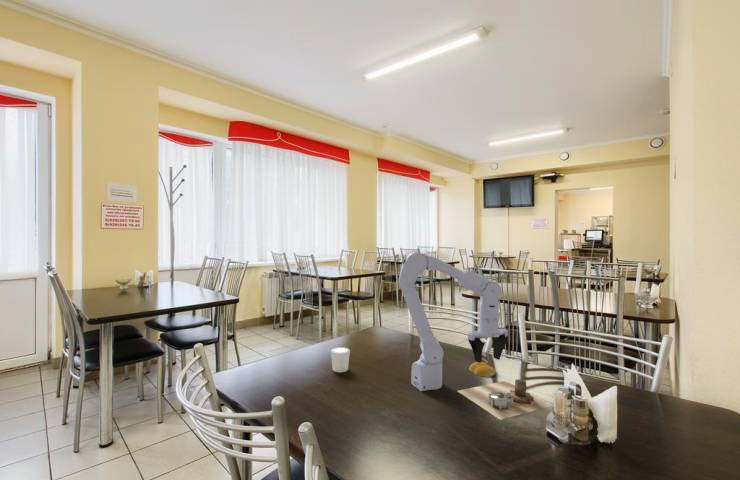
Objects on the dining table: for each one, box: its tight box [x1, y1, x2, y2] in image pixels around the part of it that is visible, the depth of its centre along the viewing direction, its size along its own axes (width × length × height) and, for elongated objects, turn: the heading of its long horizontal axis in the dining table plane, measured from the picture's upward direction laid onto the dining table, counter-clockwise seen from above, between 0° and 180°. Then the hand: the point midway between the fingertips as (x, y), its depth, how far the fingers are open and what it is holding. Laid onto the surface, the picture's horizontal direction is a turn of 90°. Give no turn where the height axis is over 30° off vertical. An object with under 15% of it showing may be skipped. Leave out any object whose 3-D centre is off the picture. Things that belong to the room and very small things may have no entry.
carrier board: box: [457, 380, 554, 421], centre depth 104 cm, size 20×18×1 cm
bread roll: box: [468, 361, 496, 378], centre depth 124 cm, size 8×9×4 cm
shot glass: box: [330, 346, 351, 373], centre depth 127 cm, size 7×7×7 cm
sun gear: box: [488, 391, 513, 411], centre depth 100 cm, size 7×7×3 cm
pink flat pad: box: [513, 400, 534, 407], centre depth 103 cm, size 8×8×1 cm
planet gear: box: [507, 379, 533, 405], centre depth 103 cm, size 7×7×5 cm
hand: (487, 360), depth 112 cm, fingers open, 7 cm apart
